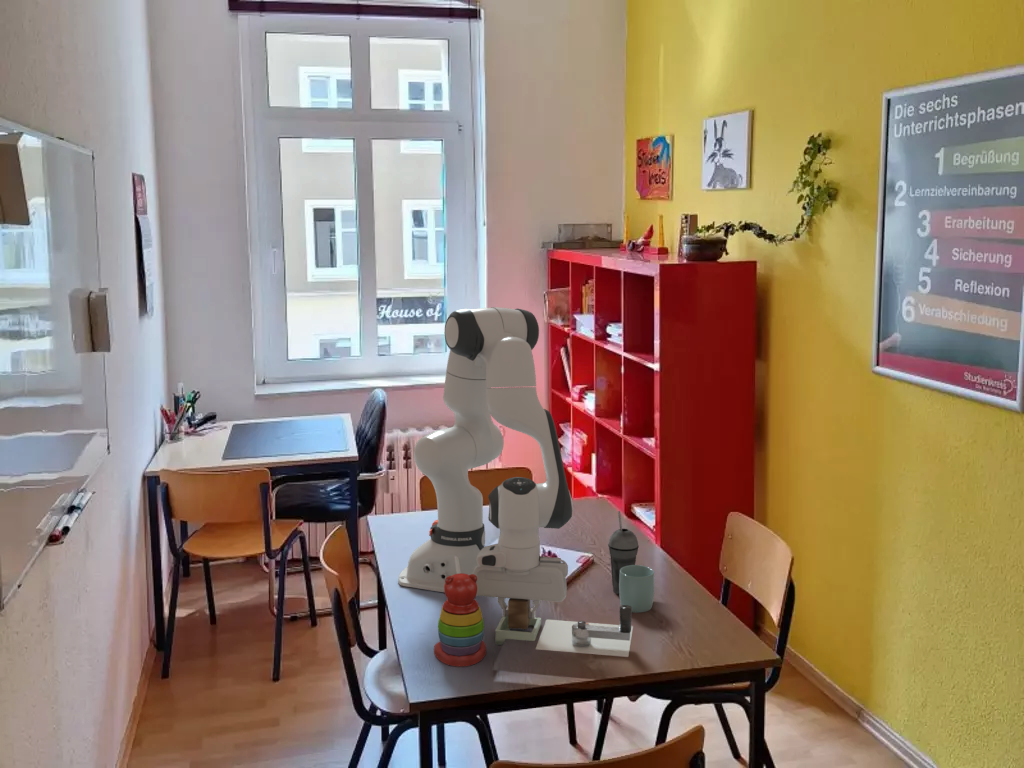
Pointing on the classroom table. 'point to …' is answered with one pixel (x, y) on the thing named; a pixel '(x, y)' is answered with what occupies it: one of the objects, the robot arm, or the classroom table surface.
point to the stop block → (518, 613)
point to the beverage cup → (621, 552)
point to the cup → (636, 587)
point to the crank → (603, 629)
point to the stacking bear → (460, 623)
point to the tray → (504, 633)
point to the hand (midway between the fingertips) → (519, 616)
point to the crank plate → (560, 639)
